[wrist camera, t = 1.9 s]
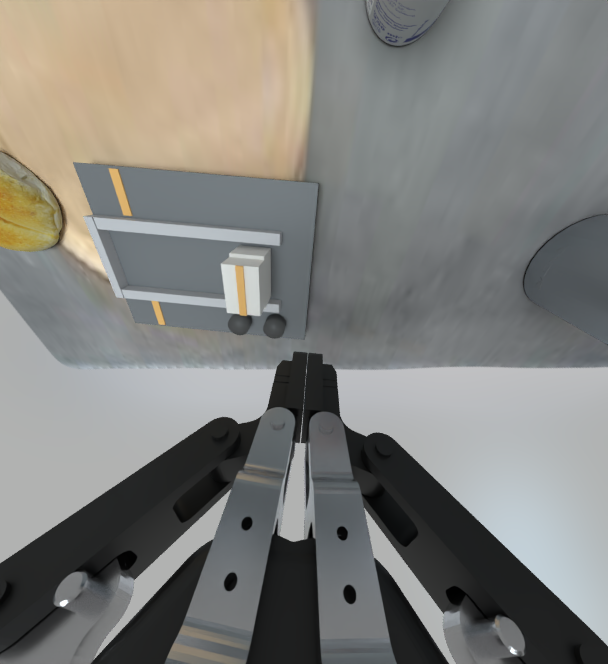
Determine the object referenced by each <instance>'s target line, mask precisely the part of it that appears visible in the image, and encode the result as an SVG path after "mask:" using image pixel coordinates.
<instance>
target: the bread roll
mask: <svg viewBox="0 0 608 664" xmlns="http://www.w3.org/2000/svg"><path fill="white" fill-rule="evenodd" d="M61 228H62V215H61V210H60V207H59V205H58V203H57V201H56V199H55V197H54V196H53V194H52V193H51V191H50V190H49V189H48V187H46V186H45V185H44V183H42V182H41V181H40V180H39V179H38V178H37V177H36V176H35V175H34V174H33V173H32V172H31V171H30V170H28V169H27V168H26V167H24V166H23V165H21V164H20V163H19V162H17V161H16V160H14V159H13V158H11V157H9V156H8V155H6V154H4V153H2V152H0V246H1V247H4V248H7V249H11V250H16V251H28V252H33V251H41V250H45V249H48V248H50V247H52V246H54V245H55V244H56V243H57V242H58V240H59V232H60V230H61Z"/></svg>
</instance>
